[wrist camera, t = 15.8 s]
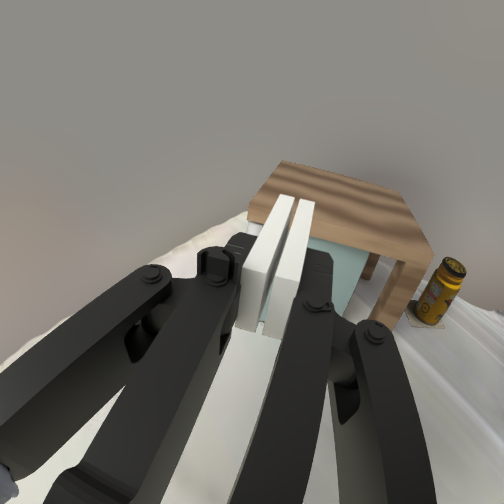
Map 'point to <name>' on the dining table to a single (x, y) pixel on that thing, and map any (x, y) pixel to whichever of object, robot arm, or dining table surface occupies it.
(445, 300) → the condiment
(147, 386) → the robot arm
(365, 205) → the step stool
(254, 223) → the pale teal panel
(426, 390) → the dining table surface
